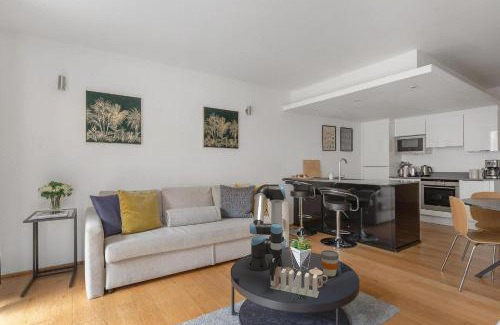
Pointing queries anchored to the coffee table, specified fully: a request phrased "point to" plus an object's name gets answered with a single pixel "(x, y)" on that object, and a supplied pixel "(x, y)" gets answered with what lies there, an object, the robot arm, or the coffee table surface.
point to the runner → (295, 290)
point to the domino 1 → (276, 278)
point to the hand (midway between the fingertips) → (276, 280)
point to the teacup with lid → (319, 277)
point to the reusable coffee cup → (329, 262)
